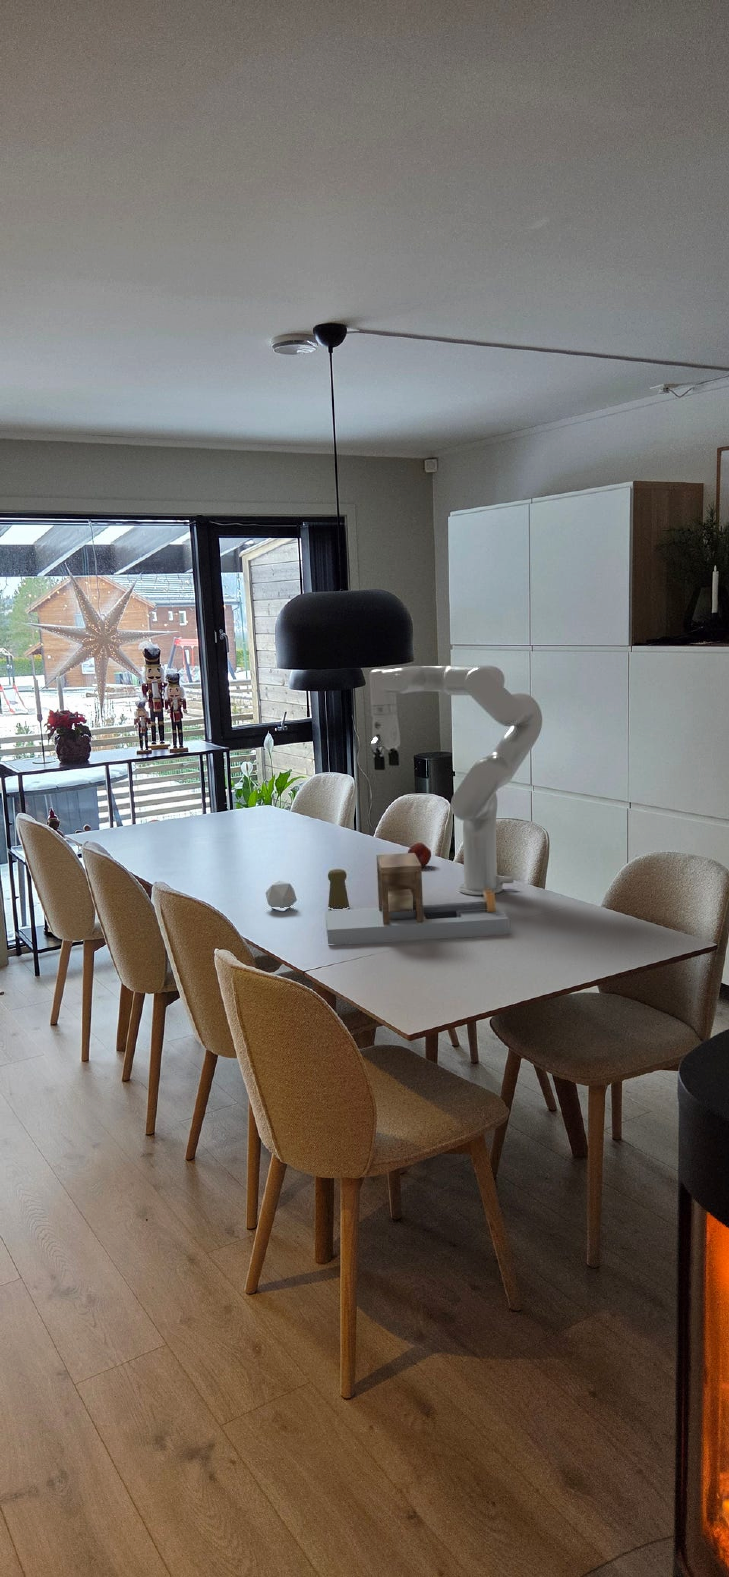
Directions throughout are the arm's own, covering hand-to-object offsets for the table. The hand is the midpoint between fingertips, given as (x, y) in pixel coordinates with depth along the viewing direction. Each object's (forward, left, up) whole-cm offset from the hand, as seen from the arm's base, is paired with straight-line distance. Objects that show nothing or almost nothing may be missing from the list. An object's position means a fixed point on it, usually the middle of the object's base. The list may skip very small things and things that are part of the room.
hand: (387, 767), depth 311 cm
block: (+2, +50, -32) cm, 60 cm away
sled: (-8, +50, -31) cm, 60 cm away
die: (+33, +22, -36) cm, 54 cm away
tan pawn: (+17, +24, -36) cm, 47 cm away
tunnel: (+2, +50, -32) cm, 60 cm away
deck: (-1, +50, -36) cm, 62 cm away
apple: (-11, -21, -36) cm, 43 cm away
